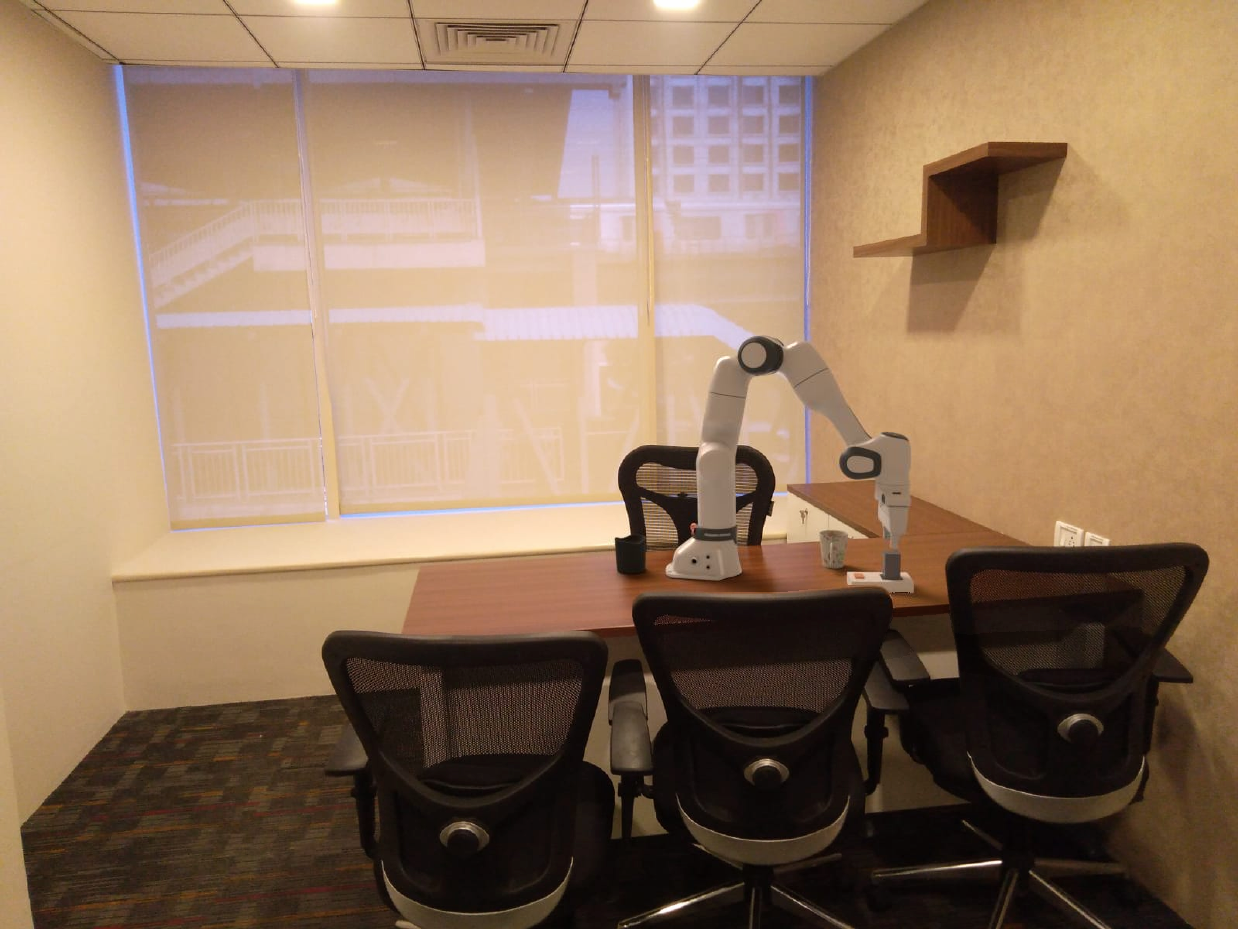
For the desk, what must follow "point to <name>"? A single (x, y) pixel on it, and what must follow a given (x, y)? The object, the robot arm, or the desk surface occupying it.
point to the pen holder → (630, 554)
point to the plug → (891, 565)
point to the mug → (833, 548)
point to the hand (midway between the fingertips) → (890, 543)
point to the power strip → (882, 581)
